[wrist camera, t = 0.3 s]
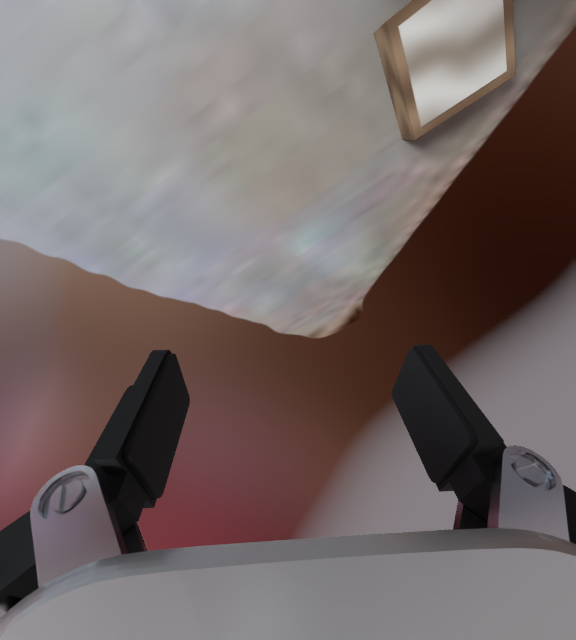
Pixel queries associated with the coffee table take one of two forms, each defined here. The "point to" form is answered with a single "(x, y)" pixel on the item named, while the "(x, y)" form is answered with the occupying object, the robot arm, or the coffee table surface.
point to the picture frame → (444, 58)
